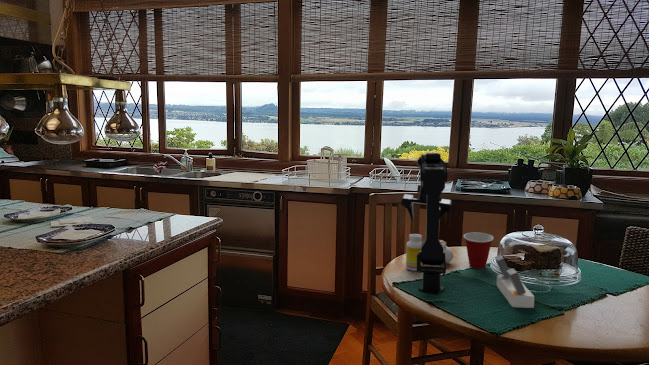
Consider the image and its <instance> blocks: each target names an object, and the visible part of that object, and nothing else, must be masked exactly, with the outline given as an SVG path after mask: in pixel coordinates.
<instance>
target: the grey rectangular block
mask: <svg viewBox="0 0 649 365" xmlns="http://www.w3.org/2000/svg"><path fill="white" fill-rule="evenodd" d="M508 269H509V270H507V273H508V275H509V277H510V280H511V282H512V284H513V286H514V288H515V290H516V292H517V293H518V294H519V295H521V294H524V293H526V291H525V289H524V287H523V285H522V283H523V282H522V280H521V279H520V276H519V274H518V271H516V270H515V269H514V267H513V268H508ZM521 282H522V283H521Z"/></svg>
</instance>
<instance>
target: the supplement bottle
mask: <svg viewBox="0 0 649 365" xmlns="http://www.w3.org/2000/svg"><path fill="white" fill-rule="evenodd" d="M408 238H409V240H408V241H407V242H406V250H405V251H406V254H405V255H406V256H405V258H406V259H405V261H406V262H405V268H406V269H407V270H409V271H413V272H418V271H417V254H418V253H419V251H421V244H422V242H423V234H419V233H409V235H408ZM421 266H425V265H422V263H421Z"/></svg>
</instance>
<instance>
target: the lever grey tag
mask: <svg viewBox="0 0 649 365" xmlns="http://www.w3.org/2000/svg"><path fill="white" fill-rule="evenodd" d="M494 258H495V259H494V260H495V261H496V264H497V266H498V267H499V268H498V269H499V270H500V272H501V275H502V276H504V277H505V278H506V279H508V278H510V277H509V275H508V273H507V270H509V269H510V268H509V267H508V265H507V263H506V260H505V258H504V257H503V256H502V255H501V254H499V255H497V256H495V257H494Z"/></svg>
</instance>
